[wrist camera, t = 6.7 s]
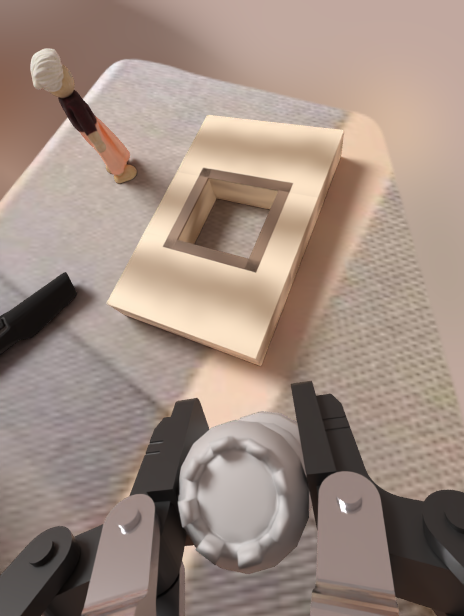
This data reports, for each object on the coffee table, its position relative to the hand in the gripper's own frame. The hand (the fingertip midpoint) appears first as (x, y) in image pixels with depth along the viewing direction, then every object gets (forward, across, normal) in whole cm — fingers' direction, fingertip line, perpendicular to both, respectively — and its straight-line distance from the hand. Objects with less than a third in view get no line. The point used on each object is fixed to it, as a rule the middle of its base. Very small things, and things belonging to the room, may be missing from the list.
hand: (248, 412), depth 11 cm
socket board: (+22, +1, -2) cm, 23 cm away
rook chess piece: (+2, 0, +4) cm, 5 cm away
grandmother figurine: (+32, +14, -11) cm, 36 cm away
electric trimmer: (+19, +25, +2) cm, 31 cm away
